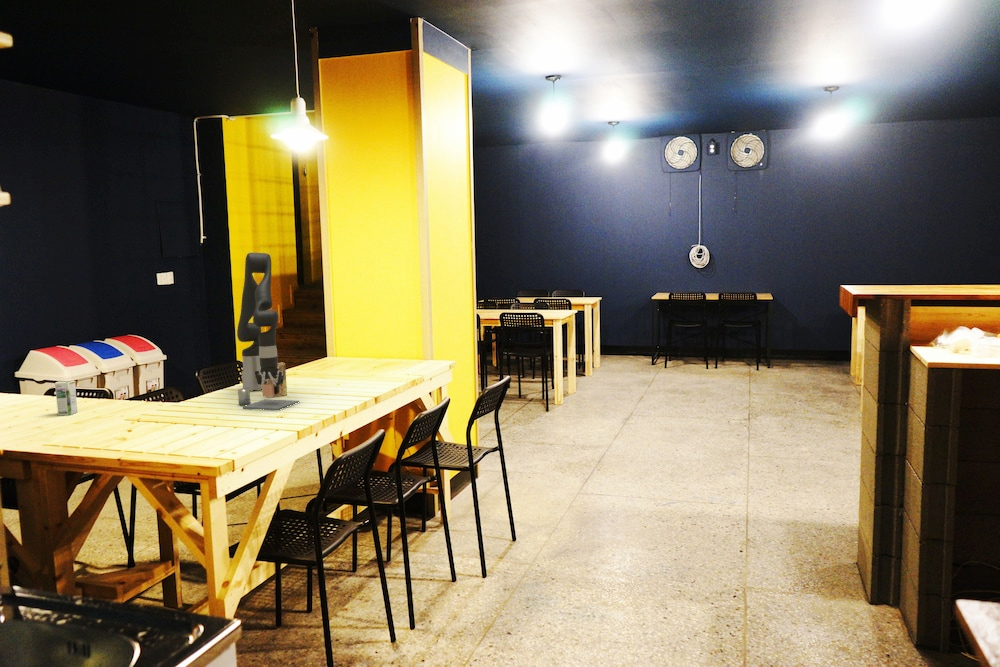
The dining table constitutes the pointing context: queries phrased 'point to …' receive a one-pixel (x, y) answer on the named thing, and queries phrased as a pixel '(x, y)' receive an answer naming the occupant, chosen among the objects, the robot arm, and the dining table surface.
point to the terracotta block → (268, 389)
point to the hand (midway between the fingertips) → (270, 393)
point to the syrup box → (66, 397)
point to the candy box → (283, 386)
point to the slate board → (270, 404)
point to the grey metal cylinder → (244, 396)
